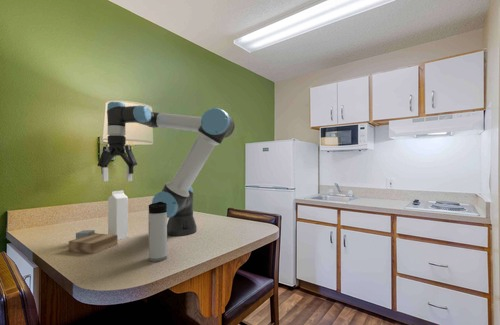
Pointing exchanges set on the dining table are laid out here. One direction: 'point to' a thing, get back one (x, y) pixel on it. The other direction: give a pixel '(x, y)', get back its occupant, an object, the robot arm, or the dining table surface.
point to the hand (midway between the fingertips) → (117, 181)
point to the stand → (92, 243)
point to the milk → (118, 214)
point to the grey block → (84, 233)
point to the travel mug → (157, 231)
